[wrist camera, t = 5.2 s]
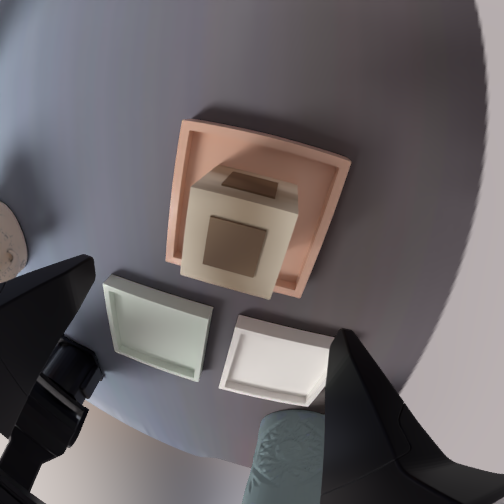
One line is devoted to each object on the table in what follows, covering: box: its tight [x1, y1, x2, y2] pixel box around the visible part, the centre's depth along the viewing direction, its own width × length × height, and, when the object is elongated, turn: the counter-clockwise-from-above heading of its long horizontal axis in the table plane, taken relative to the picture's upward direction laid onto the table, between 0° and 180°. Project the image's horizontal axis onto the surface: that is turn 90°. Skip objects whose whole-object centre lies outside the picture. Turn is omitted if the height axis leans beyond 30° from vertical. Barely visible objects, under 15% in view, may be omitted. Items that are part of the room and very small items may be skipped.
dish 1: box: [103, 274, 213, 382], centre depth 23 cm, size 9×9×1 cm
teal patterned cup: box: [242, 410, 325, 504], centre depth 24 cm, size 10×10×12 cm
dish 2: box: [166, 119, 351, 298], centre depth 16 cm, size 9×9×1 cm
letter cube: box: [180, 165, 298, 300], centre depth 14 cm, size 4×5×5 cm
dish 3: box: [219, 315, 335, 407], centre depth 22 cm, size 9×9×1 cm
